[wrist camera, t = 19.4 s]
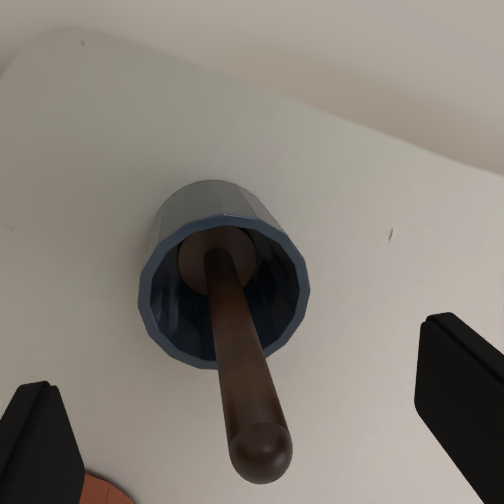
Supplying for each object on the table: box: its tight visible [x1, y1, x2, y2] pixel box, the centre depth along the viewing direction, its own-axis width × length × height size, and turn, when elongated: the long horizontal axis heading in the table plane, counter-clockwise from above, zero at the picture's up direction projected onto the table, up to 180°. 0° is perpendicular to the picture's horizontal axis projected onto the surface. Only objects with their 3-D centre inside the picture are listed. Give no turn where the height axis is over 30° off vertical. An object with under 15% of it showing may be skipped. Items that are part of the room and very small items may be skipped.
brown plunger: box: [177, 225, 293, 484], centre depth 17 cm, size 4×4×16 cm
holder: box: [138, 180, 310, 370], centre depth 21 cm, size 7×7×8 cm
